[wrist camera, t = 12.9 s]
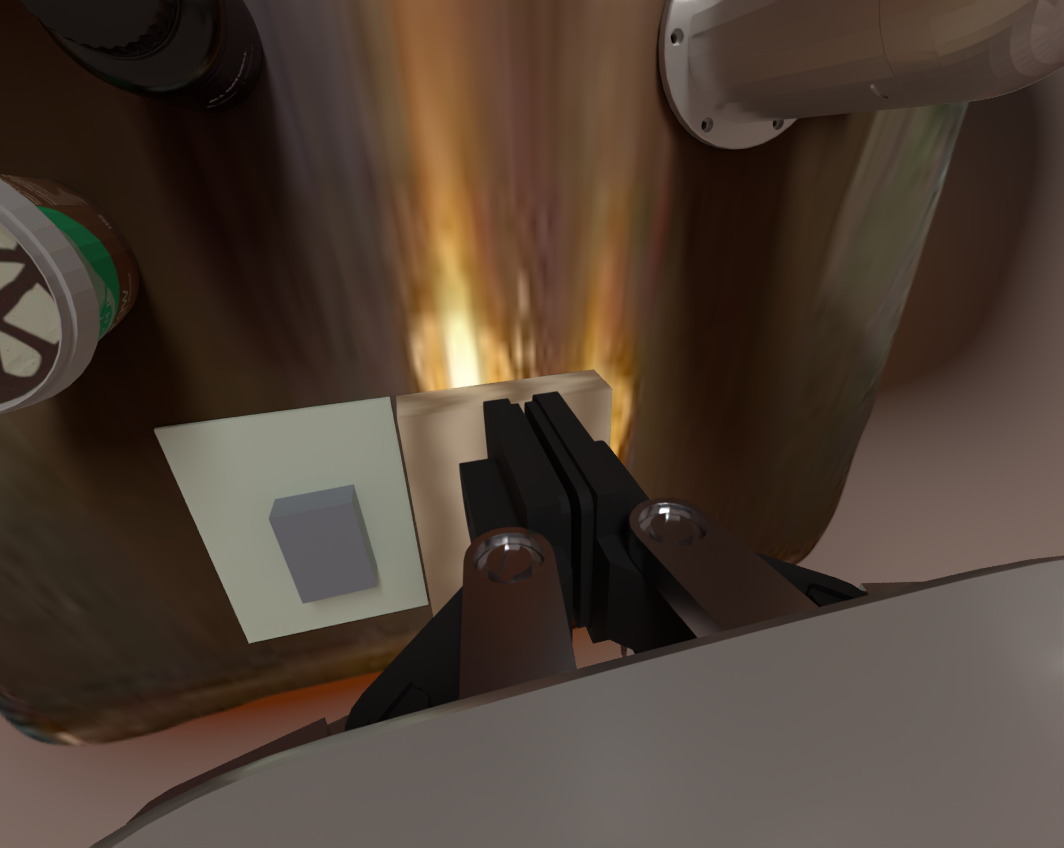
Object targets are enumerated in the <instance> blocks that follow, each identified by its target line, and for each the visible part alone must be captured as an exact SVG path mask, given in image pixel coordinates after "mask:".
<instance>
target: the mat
mask: <svg viewBox="0 0 1064 848" xmlns="http://www.w3.org/2000/svg"><path fill="white" fill-rule="evenodd" d="M154 431H155V434H156V436H157V438H158V440H159V443H160V445H161V447H162V449H163V452H164V454H165V456H166V458H167V461H168V463H169V465H170V467H171V470H172V472H173V474H174V476H175V479H176V481H177V483H178V485H179V488H180V490H181V492H182V494H183V496H184V499H185V501H186V503H187V505H188V508H189V510H190V512H191V514H192V517H193V519H194V521H195V523H196V526H197V528H198V530H199V532H200V535H201V537H202V539H203V541H204V544H205V546H206V548H207V550H208V552H209V555H210V557H211V559H212V561H213V564H214V566H215V568H216V570H217V573H218V575H219V577H220V579H221V582H222V584H223V586H224V588H225V591H226V593H227V595H228V597H229V600H230V602H231V604H232V606H233V608H234V611H235V613H236V615H237V617H238V620H239V622H240V624H241V626H242V629H243V631H244V633H245V635H246V638H247V640H248V642H249V643H252V642H257V641H262V640H266V639H271V638H276V637H280V636H285V635H290V634H294V633H299V632H304V631H308V630H313V629H317V628H322V627H327V626H331V625H336V624H341V623H345V622H350V621H355V620H359V619H364V618H368V617H373V616H378V615H382V614H387V613H392V612H396V611H401V610H406V609H410V608H415V607H419V606H424V605H428V599H427V594H426V588H425V583H424V578H423V572H422V567H421V562H420V556H419V551H418V546H417V540H416V535H415V529H414V524H413V519H412V513H411V508H410V503H409V497H408V492H407V487H406V481H405V476H404V471H403V465H402V460H401V455H400V449H399V444H398V438H397V433H396V428H395V422H394V417H393V412H392V406H391V401H390V397H384V398H377V399H369V400H361V401H354V402H346V403H339V404H331V405H324V406H316V407H309V408H301V409H294V410H286V411H278V412H271V413H263V414H256V415H248V416H241V417H233V418H226V419H218V420H210V421H203V422H195V423H188V424H180V425H173V426H165V427H158V428H155V429H154ZM353 484H354V487H355V491H356V494H357V498H358V501H359V505H360V508H361V512H362V515H363V519H364V522H365V526H366V529H367V533H368V536H369V539H370V543H371V546H372V550H373V553H374V557H375V560H376V564H377V587H375V588H370V589H366V590H361V591H357V592H353V593H348V594H344V595H339V596H335V597H331V598H326V599H322V600H317V601H313V602H309V603H304V604H303V603H302V601H301V598H300V596H299V593H298V591H297V588H296V586H295V583H294V581H293V578H292V576H291V573H290V571H289V569H288V566H287V564H286V561H285V559H284V556H283V554H282V551H281V549H280V546H279V544H278V541H277V539H276V536H275V534H274V531H273V529H272V526H271V524H270V521H269V516H270V513H271V510H272V507H273V504H274V501H275V499H279V498H284V497H289V496H295V495H300V494H305V493H310V492H316V491H321V490H326V489H332V488H337V487H342V486H347V485H353Z"/></svg>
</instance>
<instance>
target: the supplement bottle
mask: <svg viewBox="0 0 1064 848" xmlns="http://www.w3.org/2000/svg"><path fill="white" fill-rule="evenodd" d="M19 1H21V2H22V3H24V4H25V6H26V8H27V9H28V11H29V12H30V13H31V14H32V15H34V16H35V17H37V18H38V20H39V21H40V23H41V24H42V26H43V27H44V29H45V30H46V31H47V33H48V34H49V35H50V37H51V38H52V39H53V40H54V41H55V42H56V43H57V45H58V46H59V47H60V48H61V49H62V50H63V51H64V52H65V53H66V54H67V55H68V56H69V57H71V58H72V59H73V60H74V61H75V62H76V63H77V64H79V65H80V66H81V67H83V68H84V69H85V70H87V71H88V72H90V73H91V74H93V75H94V76H96V77H97V78H99V79H101V80H103V81H104V82H106V83H108V84H111V85H113V86H115V87H117V88H119V89H122V90H124V91H127V92H130V93H133V94H136V95H140V96H143V97H146V98H150V99H153V100H156V101H160V102H163V103H167V104H170V105H173V106H177V107H180V108H184V109H187V110H192V111H197V112H204V113H215V112H222V111H227V110H229V109H232V108H234V107H236V106H238V105H239V104H241V103H242V102H243V101H245V100H246V99H247V98H248V97H249V95H250V94H251V93H252V91H253V90H254V88H255V86H256V84H257V82H258V79H259V76H260V72H261V66H262V49H261V42H260V38H259V34H258V31H257V27H256V25H255V22H254V20H253V18H252V16H251V14H250V12H249V10H248V8H247V6H246V5H245V3H244V1H243V0H19Z"/></svg>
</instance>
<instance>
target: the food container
mask: <svg viewBox="0 0 1064 848" xmlns="http://www.w3.org/2000/svg"><path fill="white" fill-rule="evenodd" d="M138 290H139V272H138V267H137V263H136V260H135V257H134V255H133V252H132V250H131V247H130V246H129V244H128V242H127V241H126V239H125V237H124V235H123V234H122V233H121V232H120V230H119V229H118V228H117V226H116V225H115V224H114V223H113V222H112V221H111V220H110V219H109V217H108V216H107V215H106V214H105V213H104V212H103V211H102V210H100V209H99V208H98V207H97V206H95V205H94V204H93V203H92V202H91V201H89V200H88V199H86V198H85V197H83V196H82V195H80V194H79V193H77V192H76V191H74V190H73V189H71V188H69V187H67V186H65V185H63V184H61V183H59V182H57V181H54V180H45V179H36V178H27V177H19V176H10V175H1V174H0V414H3V413H7V412H11V411H14V410H18V409H21V408H24V407H27V406H30V405H33V404H36V403H38V402H41V401H43V400H45V399H48V398H50V397H53V396H54V395H56V394H57V393H59V392H61V391H62V390H64V389H65V388H67V387H69V386H70V385H71V384H72V383H73V382H74V381H75V380H76V379H77V378H78V377H79V376H80V375H81V374H82V373H83V371H84V370H85V368H86V367H87V365H88V364H89V363H90V361H91V359H92V356H93V354H94V351H95V349H96V346H97V343H98V341H99V340H100V339H101V338H102V337H103V336H104V335H106V334H107V333H108V332H109V331H110V330H111V329H113V328H114V327H115V326H116V325H117V324H118V323H119V322H121V321H122V320H123V319H124V317H125V316H126V315H127V314H128V312H129V311H130V310H131V308H132V307H133V306H134V303H135V301H136V298H137V295H138Z"/></svg>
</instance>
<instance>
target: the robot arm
mask: <svg viewBox="0 0 1064 848" xmlns="http://www.w3.org/2000/svg"><path fill="white" fill-rule="evenodd" d="M671 35H672V36H673V43H672V42H671ZM658 46H659V69H660V74H661V79H662V84H663V89H664V92H665V95H666V97H667V100H668V103H669V105H670V108H671V110H672V111H673V113H674V115H675V116H676V118H677V119H678V121H679V123H680V124H681V125H682V126H683V127H684V128H685V129H686V130H687V131H688V132H689V133H690V135H692V136H693V137H695V138H696V139H698V140H699V141H701V142H702V143H704V144H707V145H710V146H713V147H716V148H721V149H746V148H750V147H754V146H757V145H761V144H763V143H765V142H767V141H769V140H771V139H773V138H775V137H777V136H778V135H779V134H781V133H782V132H783V131H785V130H786V129H787V128H788V127H790V126H791V125H792V124H793V123H794V122H795V121H796V120H797V119H798V118H806V117H816V116H826V115H837V114H847V113H857V112H867V111H878V110H888V109H898V108H909V107H919V106H929V105H940V104H946V103H956V102H966V101H975V100H981V99H987V98H992V97H996V96H1000V95H1003V94H1006V93H1009V92H1013V91H1015V90H1018V89H1021V88H1023V87H1026V86H1028V85H1030V84H1032V83H1034V82H1036V81H1038V80H1041V79H1043V78H1044V77H1046V76H1049V75H1050V74H1052V73H1054V72H1055V71H1057V70H1059V69H1060V68H1062V67H1063V66H1064V0H666V3H665V7H664V11H663V15H662V19H661V26H660V36H659V45H658ZM702 123H703V128H702V127H701V125H702ZM483 413H484V424H485V435H486V446H487V457H488V459H482V460H475V461H469V462H463V463H459V472H460V480H461V488H462V496H463V503H464V510H465V516H466V522H467V527H468V532H469V537H470V542H471V544H470V546H469V547H468V549H467V550H466V552H465V556H464V560H463V586H462V587H461V588H460V589H459V590H458V591H457V592H456V593H455V595H454V596H453V597H452V598H451V599H450V600H449V601H448V602H447V603H446V604H445V605H444V606H443V607H442V609H441V610H440V611H439V612H438V613H437V614H436V615H435V616H434V617H433V618H432V619H431V620H430V621H429V623H428V624H427V625H426V626H425V627H424V628H423V629H422V630H421V631H420V632H419V633H418V634H417V635H416V637H415V638H414V639H413V640H412V641H411V642H410V643H409V644H408V645H407V646H406V647H405V648H404V649H403V651H402V652H401V653H400V654H399V655H398V656H397V657H396V658H395V659H394V660H393V661H392V662H391V663H390V665H389V666H388V667H387V668H386V669H385V670H384V671H383V672H382V673H381V674H380V675H379V676H378V677H377V679H376V680H375V681H374V682H373V683H372V684H371V685H370V686H369V687H368V688H367V689H366V690H365V692H364V693H363V694H362V695H361V696H360V698H359V699H358V701H357V702H356V703H355V705H354V706H353V707H352V709H351V712H350V714H349V715H348V716H345V717H343V718H341V719H339V720H337V721H335V722H332V723H330V724H328V725H327V723H326V720H325V717H324V718H322V719H320V720H318V721H316V722H313V723H311V724H309V725H307V726H305V727H302V728H300V729H298V730H296V731H294V732H292V733H290V734H287V735H285V736H283V737H281V738H279V739H277V740H274V741H272V742H270V743H268V744H266V745H264V746H261V747H259V748H257V749H255V750H253V751H251V752H249V753H246V754H244V755H242V756H240V757H238V758H236V759H233V760H231V761H229V762H227V763H225V764H222V765H220V766H218V767H216V768H214V769H212V770H209V771H207V772H205V773H203V774H201V775H199V776H197V777H194V778H192V779H190V780H188V781H186V782H184V783H181V784H179V785H177V786H175V787H173V788H171V789H169V790H168V791H166V792H164V793H163V794H162V795H160V796H158V797H156V798H155V799H153V800H151V801H150V802H149V803H147V804H146V805H145V806H144V807H143V808H142V809H141V810H140V811H139V812H138V813H137V814H136V815H135V816H134V817H133V818H132V819H131V820H130V821H129V822H128V823H127V824H126V825H125V826H123V827H121V828H120V829H118V830H116V831H115V832H113V833H111V834H110V835H108V836H106V837H105V838H103V839H102V840H100V841H98V842H96V843H95V844H93V845H92V846H91V847H89V848H1064V556H1056V557H1046V558H1037V559H1029V560H1024V561H1018V562H1014V563H1009V564H1004V565H998V566H992V567H987V568H981V569H977V570H972V571H968V572H964V573H959V574H955V575H950V576H946V577H942V578H938V579H933V580H929V581H924V582H897V583H896V582H895V583H863V584H861V585H860V587H859V588H857V587H855V586H854V585H852V584H850V583H847V582H845V581H842V580H840V579H837V578H835V577H831V576H828V575H825V574H822V573H819V572H815V571H813V570H809V569H806V568H803V567H800V566H797V565H793V564H790V563H787V562H784V561H781V560H778V559H774V558H771V557H768V556H765V555H762V554H758V553H755V552H754V551H752V550H751V549H750V548H749V547H748V546H746V545H745V544H744V543H743V542H742V541H741V540H739V539H738V538H737V537H736V536H735V535H733V534H732V533H731V532H730V531H729V530H728V529H726V528H725V527H724V526H723V525H722V524H721V523H719V522H718V521H717V520H716V519H715V518H713V517H712V516H711V515H710V514H709V513H708V512H706V511H705V510H703V509H702V508H700V507H699V506H697V505H695V504H692V503H690V502H687V501H684V500H679V499H674V498H656V499H651V500H650V499H649V498H648V497H647V495H646V494H645V493H644V491H643V490H642V489H641V488H640V486H639V485H638V484H637V482H636V481H635V480H634V478H633V477H632V476H631V475H630V473H629V472H628V471H627V469H626V468H625V467H624V465H623V464H622V463H621V461H620V460H619V459H618V458H617V456H616V455H615V454H614V452H613V451H612V450H611V448H610V447H609V446H608V445H607V443H606V442H605V441H603V440H599V441H594V440H593V439H592V437H591V436H590V435H589V433H588V432H587V430H586V429H585V428H584V426H583V425H582V424H581V422H580V421H579V420H578V418H577V417H576V415H575V414H574V413H573V411H572V410H571V409H570V407H569V406H568V404H567V403H566V402H565V400H564V399H563V398H562V396H561V395H560V393H559V392H558V391H555V392H547V393H540V394H534V395H533V396H532V401H529V402H525V403H524V412H523V410H522V409H521V407H520V405H519V403H515V404H511V402H510V400H509V399H508V398H504V399H497V400H490V401H484V402H483ZM572 617H573V620H574V622H575V624H576V626H577V627H578V628H582V627H586V628H587V631H588V633H589V635H590V638H591V640H592V642H593V643H597V642H602V641H606V640H612V641H614V642H616V643H618V644H620V645H621V654H622V656H623V657H622V658H618V659H614V660H610V661H606V662H603V663H599V664H595V665H591V666H587V667H583V668H580V669H577V667H576V662H575V656H574V652H573V646H572Z"/></svg>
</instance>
